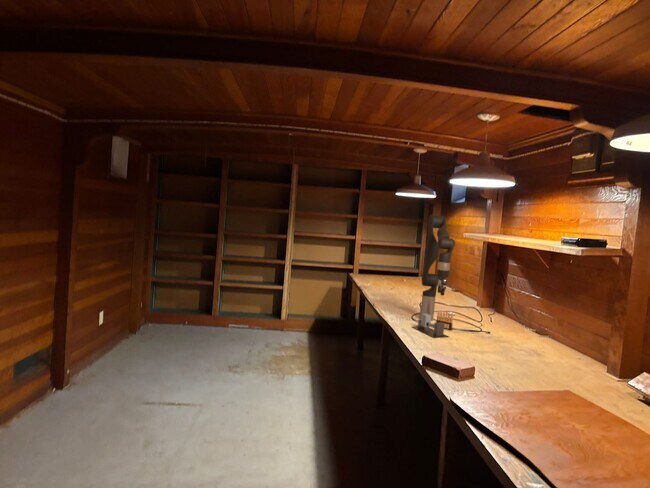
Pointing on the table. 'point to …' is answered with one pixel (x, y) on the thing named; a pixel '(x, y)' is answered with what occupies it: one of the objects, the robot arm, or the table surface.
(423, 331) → the dark grey mounting base
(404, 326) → the table surface
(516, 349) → the table surface
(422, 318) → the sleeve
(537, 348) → the table surface
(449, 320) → the ammunition clip
